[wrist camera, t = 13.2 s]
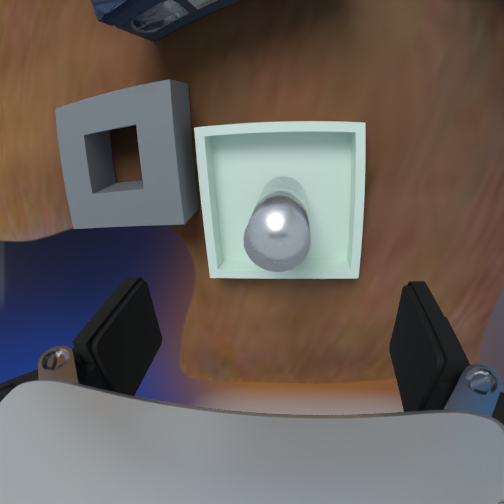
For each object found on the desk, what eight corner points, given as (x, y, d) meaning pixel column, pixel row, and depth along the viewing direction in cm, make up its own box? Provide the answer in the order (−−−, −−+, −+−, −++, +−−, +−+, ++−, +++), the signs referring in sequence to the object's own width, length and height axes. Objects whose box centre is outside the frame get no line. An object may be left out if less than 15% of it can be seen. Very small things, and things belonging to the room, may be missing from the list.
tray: (357, 122, 25) (365, 122, 22) (353, 263, 31) (358, 278, 28) (204, 126, 27) (194, 127, 24) (217, 263, 32) (210, 277, 30)
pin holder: (188, 83, 25) (169, 79, 21) (199, 208, 30) (184, 224, 26) (82, 106, 27) (55, 108, 23) (97, 214, 32) (73, 228, 28)
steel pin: (305, 175, 27) (310, 209, 18) (306, 219, 29) (310, 271, 19) (259, 176, 27) (241, 210, 18) (262, 220, 29) (245, 271, 20)
